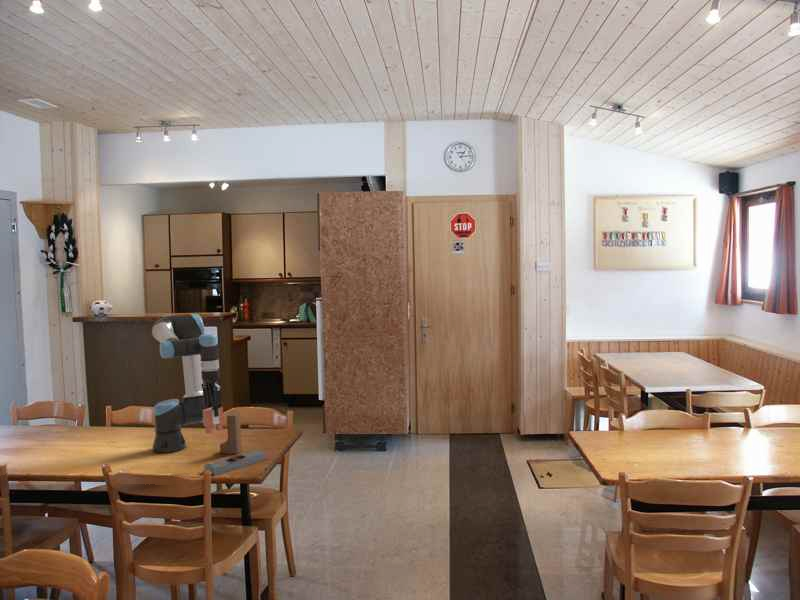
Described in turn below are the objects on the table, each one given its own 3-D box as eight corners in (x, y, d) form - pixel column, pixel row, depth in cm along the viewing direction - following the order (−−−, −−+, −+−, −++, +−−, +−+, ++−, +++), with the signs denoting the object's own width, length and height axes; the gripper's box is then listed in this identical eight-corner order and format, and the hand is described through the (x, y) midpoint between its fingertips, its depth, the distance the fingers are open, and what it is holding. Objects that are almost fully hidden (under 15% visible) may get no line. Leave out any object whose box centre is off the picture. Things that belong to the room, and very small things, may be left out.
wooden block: (220, 453, 288) (217, 415, 287) (225, 450, 292) (223, 413, 291) (237, 454, 286) (234, 416, 285) (242, 451, 290) (239, 413, 289)
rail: (204, 471, 263) (204, 464, 263) (256, 456, 282) (256, 449, 282) (214, 475, 257) (213, 468, 257) (266, 459, 276) (266, 452, 276)
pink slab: (204, 432, 267) (202, 409, 266) (220, 428, 273) (219, 406, 272) (207, 433, 265) (205, 410, 264) (224, 429, 271) (222, 407, 270)
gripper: (193, 369, 270) (196, 422, 272) (211, 372, 259) (215, 427, 260) (209, 367, 276) (212, 419, 277) (227, 370, 264) (231, 424, 266)
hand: (213, 423), depth 269 cm, fingers closed on pink slab, 3 cm apart
